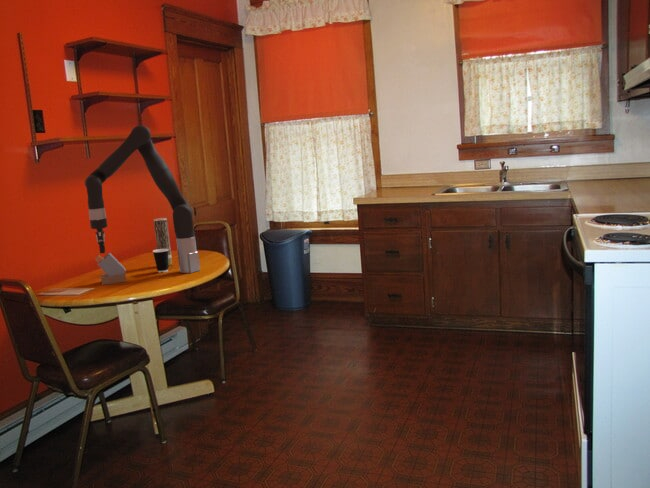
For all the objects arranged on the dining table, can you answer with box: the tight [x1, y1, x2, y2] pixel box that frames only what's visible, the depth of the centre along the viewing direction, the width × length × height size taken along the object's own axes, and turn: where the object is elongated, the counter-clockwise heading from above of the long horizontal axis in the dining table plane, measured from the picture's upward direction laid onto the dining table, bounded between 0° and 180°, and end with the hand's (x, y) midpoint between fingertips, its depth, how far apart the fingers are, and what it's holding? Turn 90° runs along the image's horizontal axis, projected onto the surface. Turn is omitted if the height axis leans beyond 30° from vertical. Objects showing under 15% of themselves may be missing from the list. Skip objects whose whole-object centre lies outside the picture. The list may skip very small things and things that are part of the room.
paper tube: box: [153, 217, 173, 267], centre depth 326 cm, size 7×7×25 cm
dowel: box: [94, 254, 104, 263], centre depth 296 cm, size 3×3×12 cm
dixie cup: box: [152, 248, 169, 274], centre depth 312 cm, size 8×8×11 cm
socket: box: [97, 252, 127, 286], centre depth 296 cm, size 12×9×14 cm
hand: (102, 251), depth 294 cm, fingers open, 8 cm apart
